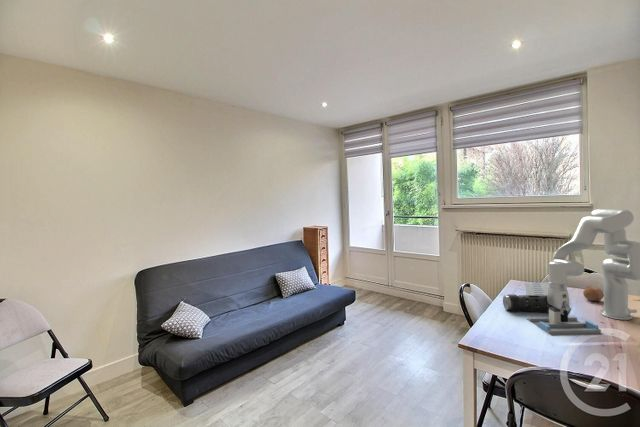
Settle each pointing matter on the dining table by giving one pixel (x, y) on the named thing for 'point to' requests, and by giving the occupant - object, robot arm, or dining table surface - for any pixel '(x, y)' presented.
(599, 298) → the onion
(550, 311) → the grey rectangular prism
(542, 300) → the muzzle brake
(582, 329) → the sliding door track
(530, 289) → the warehouse
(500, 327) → the dining table surface
